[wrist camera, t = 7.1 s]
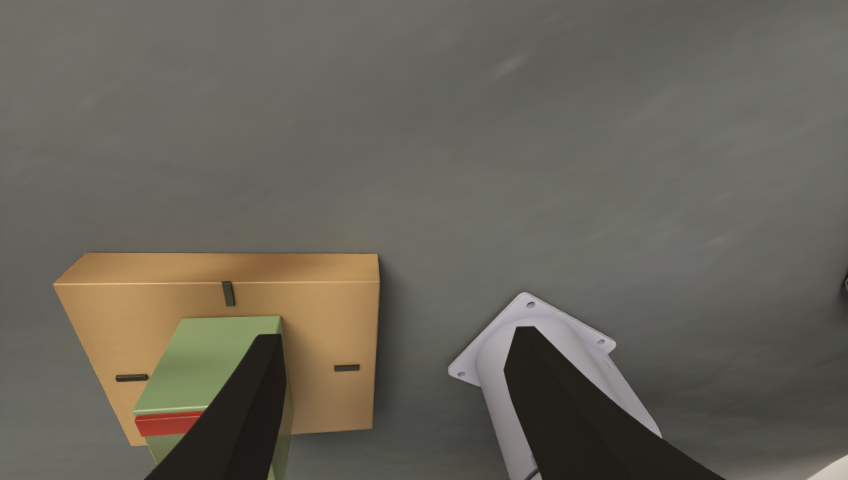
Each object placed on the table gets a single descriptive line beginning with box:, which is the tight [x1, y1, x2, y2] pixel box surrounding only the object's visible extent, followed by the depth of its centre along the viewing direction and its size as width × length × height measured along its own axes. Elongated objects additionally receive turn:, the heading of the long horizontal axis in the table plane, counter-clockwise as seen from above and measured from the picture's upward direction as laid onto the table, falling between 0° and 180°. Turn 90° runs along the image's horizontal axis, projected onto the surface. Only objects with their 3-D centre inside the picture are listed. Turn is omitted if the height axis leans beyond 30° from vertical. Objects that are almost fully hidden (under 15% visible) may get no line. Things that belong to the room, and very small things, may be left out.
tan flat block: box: [53, 253, 380, 446], centre depth 22 cm, size 14×12×3 cm
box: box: [132, 316, 294, 480], centre depth 19 cm, size 8×4×5 cm, turn 175°
